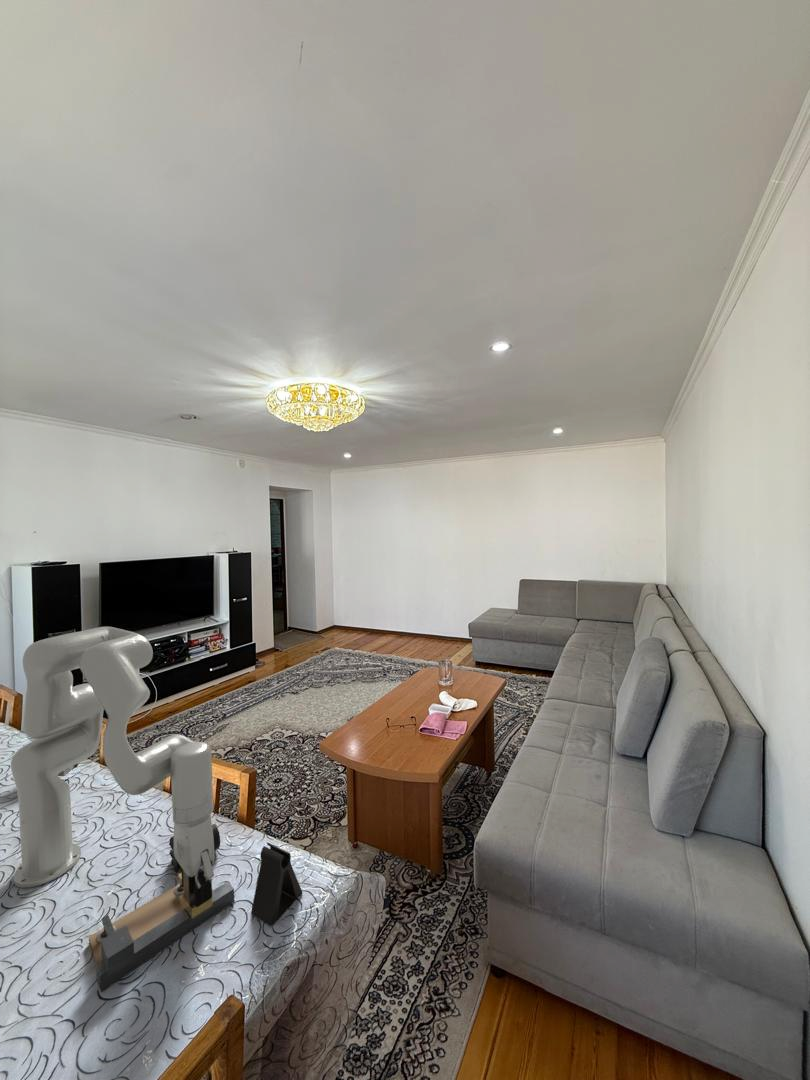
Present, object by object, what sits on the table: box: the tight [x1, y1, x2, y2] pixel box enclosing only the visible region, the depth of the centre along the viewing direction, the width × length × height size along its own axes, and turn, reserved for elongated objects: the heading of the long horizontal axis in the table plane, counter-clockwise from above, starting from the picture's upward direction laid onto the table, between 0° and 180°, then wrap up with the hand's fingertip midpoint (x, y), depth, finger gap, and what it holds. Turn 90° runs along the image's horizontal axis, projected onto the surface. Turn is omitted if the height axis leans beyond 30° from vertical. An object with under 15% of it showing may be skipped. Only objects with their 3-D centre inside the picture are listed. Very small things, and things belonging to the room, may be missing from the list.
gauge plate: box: [88, 883, 214, 965], centre depth 88 cm, size 8×21×2 cm, turn 137°
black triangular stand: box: [250, 842, 303, 928], centre depth 91 cm, size 9×6×12 cm, turn 149°
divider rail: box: [95, 881, 235, 993], centre depth 86 cm, size 12×24×6 cm, turn 137°
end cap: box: [168, 823, 221, 873], centre depth 104 cm, size 10×7×7 cm
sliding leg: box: [177, 864, 212, 918], centre depth 90 cm, size 12×4×9 cm, turn 47°
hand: (196, 891), depth 87 cm, fingers open, 6 cm apart
